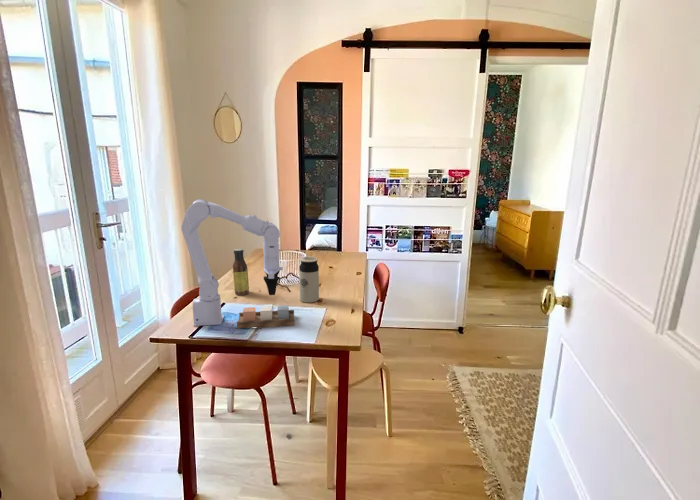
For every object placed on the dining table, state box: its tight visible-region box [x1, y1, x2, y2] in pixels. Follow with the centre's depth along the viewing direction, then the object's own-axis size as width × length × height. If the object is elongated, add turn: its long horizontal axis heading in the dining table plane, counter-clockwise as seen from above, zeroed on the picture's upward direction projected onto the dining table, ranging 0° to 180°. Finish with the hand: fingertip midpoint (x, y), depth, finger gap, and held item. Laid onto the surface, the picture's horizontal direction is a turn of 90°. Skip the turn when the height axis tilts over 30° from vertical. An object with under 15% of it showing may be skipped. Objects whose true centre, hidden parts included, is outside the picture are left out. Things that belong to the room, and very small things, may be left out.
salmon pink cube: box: [242, 306, 257, 321], centre depth 141 cm, size 4×4×4 cm
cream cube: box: [259, 305, 273, 320], centre depth 142 cm, size 4×4×4 cm
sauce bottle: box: [232, 248, 250, 296], centre depth 170 cm, size 6×6×20 cm
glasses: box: [277, 272, 300, 293], centre depth 183 cm, size 13×13×5 cm
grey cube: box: [276, 305, 290, 319], centre depth 143 cm, size 4×4×4 cm
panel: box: [236, 309, 296, 330], centre depth 143 cm, size 20×9×2 cm, turn 100°
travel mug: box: [298, 256, 320, 304], centre depth 164 cm, size 8×8×18 cm
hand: (272, 291), depth 148 cm, fingers open, 7 cm apart
